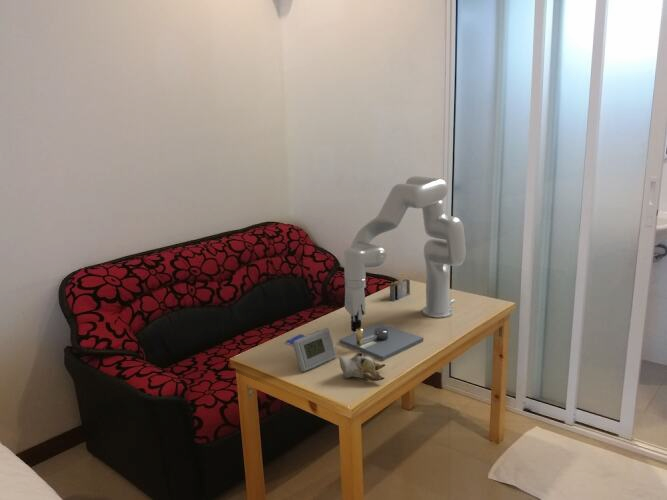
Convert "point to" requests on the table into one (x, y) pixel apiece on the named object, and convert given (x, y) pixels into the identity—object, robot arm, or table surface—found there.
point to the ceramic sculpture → (360, 367)
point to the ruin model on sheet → (399, 289)
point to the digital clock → (314, 349)
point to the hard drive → (293, 339)
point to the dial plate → (383, 342)
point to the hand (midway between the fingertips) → (356, 330)
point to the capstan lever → (378, 335)
